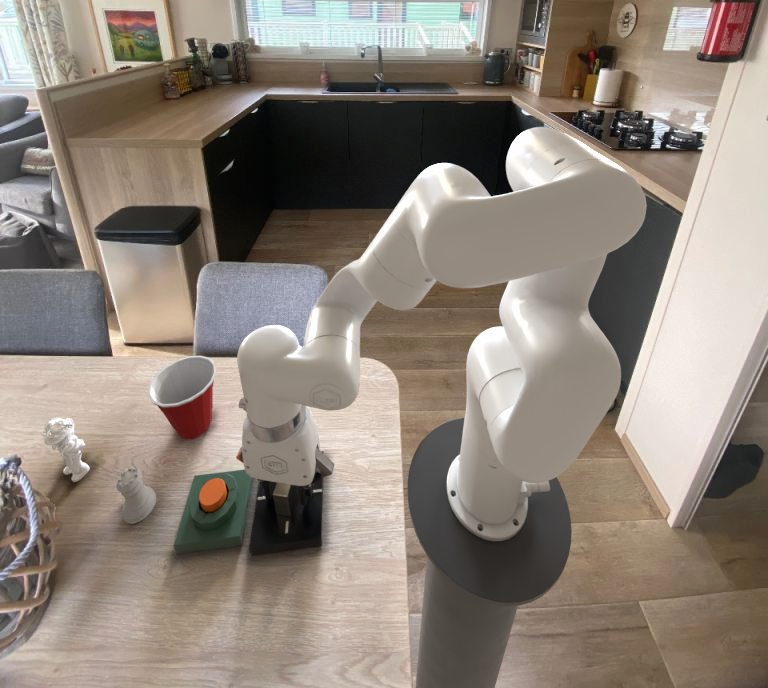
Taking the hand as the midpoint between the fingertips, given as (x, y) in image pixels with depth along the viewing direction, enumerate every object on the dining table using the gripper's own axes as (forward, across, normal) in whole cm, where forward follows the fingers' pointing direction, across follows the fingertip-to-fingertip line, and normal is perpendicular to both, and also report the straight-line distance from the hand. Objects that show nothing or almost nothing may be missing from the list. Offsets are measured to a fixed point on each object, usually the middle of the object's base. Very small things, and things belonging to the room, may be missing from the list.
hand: (289, 490), depth 60 cm
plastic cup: (+3, -22, +10) cm, 24 cm away
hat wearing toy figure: (+3, -37, -1) cm, 37 cm away
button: (0, -11, -3) cm, 11 cm away
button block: (+3, -11, -3) cm, 11 cm away
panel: (+3, 0, 0) cm, 3 cm away
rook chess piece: (+3, -23, -4) cm, 23 cm away
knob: (+1, 0, 0) cm, 1 cm away
